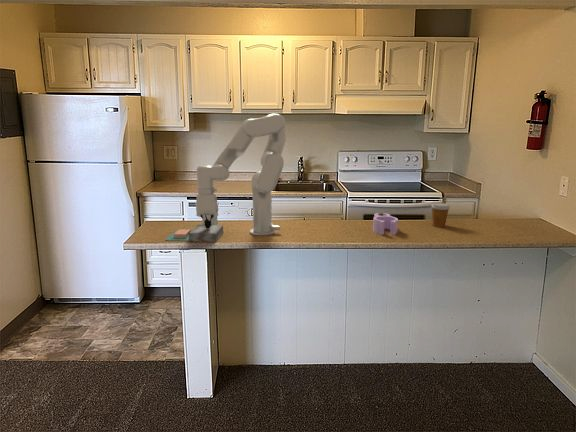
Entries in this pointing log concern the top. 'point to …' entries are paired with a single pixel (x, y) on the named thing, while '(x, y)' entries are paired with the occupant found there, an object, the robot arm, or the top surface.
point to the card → (182, 233)
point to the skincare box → (212, 221)
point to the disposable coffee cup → (439, 214)
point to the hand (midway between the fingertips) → (208, 227)
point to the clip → (385, 223)
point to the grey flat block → (206, 233)
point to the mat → (171, 238)
